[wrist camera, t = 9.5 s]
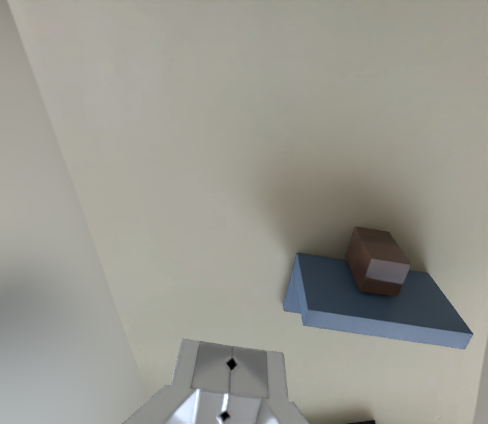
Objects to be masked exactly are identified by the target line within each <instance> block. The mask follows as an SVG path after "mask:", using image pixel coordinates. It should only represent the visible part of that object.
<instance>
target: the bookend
mask: <svg viewBox="0 0 488 424" xmlns="http://www.w3.org/2000/svg"><path fill="white" fill-rule="evenodd" d="M283 309H284V311H287V312H293V313H300V314H301V316H302V322H303V326H310V327H316V328H323V329H330V330H337V331H344V332H350V333H357V334H364V335H371V336H377V337H384V338H391V339H398V340H405V341H411V342H418V343H425V344H432V345H439V346H445V347H452V348H459V349H465V348H466V346H467V345H468V343H469V341H470V339H471V338H472V336H473V333H472V332H471V330H470V329H469V328H468V326H467V325H466V323H465V322H464V321H463V319H462V318H461V317H460V315H459V314H458V313H457V311H456V310H455V309H454V307H453V306H452V304H451V303H450V302H449V300H448V299H447V298H446V296H445V295H444V294H443V292H442V291H441V290H440V288H439V287H438V285H437V284H436V283H435V281H434V280H433V279H432V277H431V276H430V275H429V273H423V272H417V271H410V270H409V271H408V273H407V276H406V278H405V280H404V283H403V285H402V287H401V290H400V292H399V294H398V297H395V296H389V295H382V294H376V293H370V292H363V291H359V288H358V286H357V284H356V281H355V279H354V276H353V274H352V271H351V269H350V267H349V264H348V262H347V261H346V260H339V259H333V258H327V257H320V256H314V255H307V254H301V253H297V255H296V259H295V263H294V266H293V270H292V274H291V278H290V282H289V286H288V289H287V293H286V297H285V301H284V305H283Z"/></svg>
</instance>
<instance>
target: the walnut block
mask: <svg viewBox="0 0 488 424" xmlns="http://www.w3.org/2000/svg"><path fill="white" fill-rule="evenodd" d="M345 257H346V259H347V262H348V264H349V267H350V269H351V271H352V274H353V276H354V279H355V281H356V284H357V286H358V288H359V291H363V292H370V293H376V294H382V295H389V296H395V297H398V294H399V292H400V290H401V287H402V285H403V283H404V280H405V278H406V276H407V273H408V271H409V269H410V267H411V263H410V262H409V260H408V259H407V257H406V256H405V255H404V253H403V252H402V250H401V249H400V247H399V246H398V244H397V243H396V242H395V240H394V239H393V237H392V236H391V234H390V233H389V232H384V231H378V230H372V229H366V228H360V227H355V229H354V232H353V235H352V238H351V241H350V244H349V246H348V249H347V252H346V255H345Z"/></svg>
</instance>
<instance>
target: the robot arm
mask: <svg viewBox="0 0 488 424" xmlns="http://www.w3.org/2000/svg"><path fill="white" fill-rule="evenodd" d="M199 342H200V344H199ZM122 424H309V422H308V421H307V420H306V418H305V417H304V416H303V414H302V413H301V412H300V410H299V409H298V407H297V406H296V405H295V403H294V402H289V401H288V391H287V380H286V370H285V360H284V354H283V353H281V352H274V351H265V350H258V349H251V348H243V347H236V346H227V345H221V344H215V343H209V342H203V341H195V340H189V339H182V341H181V344H180V348H179V352H178V356H177V360H176V364H175V368H174V373H173V377H172V381H171V385H164V386H163V387H162V388H161V389H160V390H159V391H158V392H157V393H155V394H154V395H153V396H152V397H151V398H150V399H149V400H148V401H147V402H146V403H144V404H143V405H142V406H141V407H140V408H139V409H138V410H137V411H136V412H135V413H133V414H132V415H131V416H130V417H129V418H128V419H127V420H126V421H124V422H123V423H122Z"/></svg>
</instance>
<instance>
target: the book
mask: <svg viewBox="0 0 488 424" xmlns="http://www.w3.org/2000/svg"><path fill="white" fill-rule="evenodd" d="M349 424H375V420H374V421H366V422H357V423H349Z"/></svg>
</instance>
